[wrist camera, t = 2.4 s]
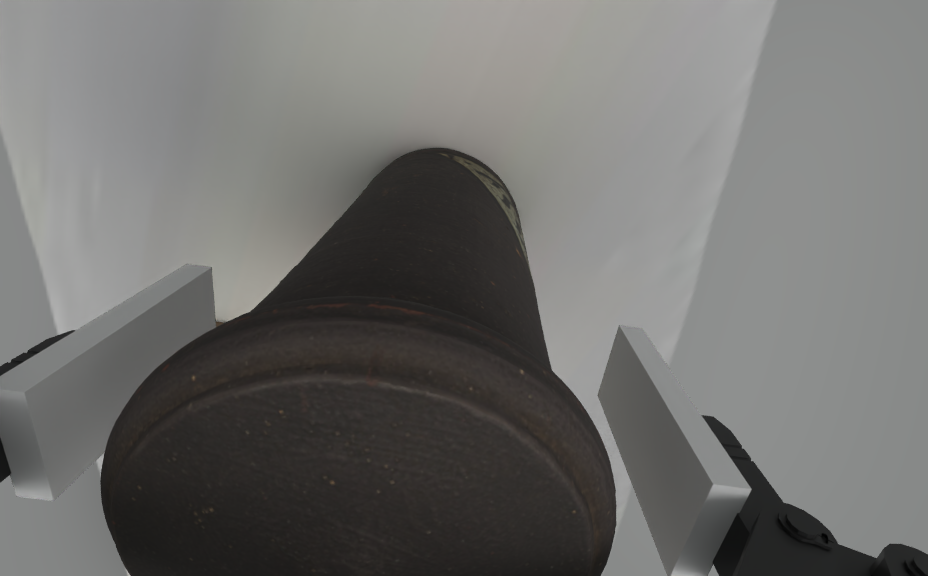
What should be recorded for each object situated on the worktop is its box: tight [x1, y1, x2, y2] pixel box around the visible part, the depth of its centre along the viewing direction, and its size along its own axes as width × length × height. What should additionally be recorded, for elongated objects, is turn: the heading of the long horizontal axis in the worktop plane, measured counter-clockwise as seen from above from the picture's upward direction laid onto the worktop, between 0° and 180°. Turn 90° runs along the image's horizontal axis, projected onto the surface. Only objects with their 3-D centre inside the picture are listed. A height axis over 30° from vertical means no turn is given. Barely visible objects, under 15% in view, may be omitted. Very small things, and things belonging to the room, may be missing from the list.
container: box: [101, 148, 616, 576], centre depth 16 cm, size 9×9×20 cm
